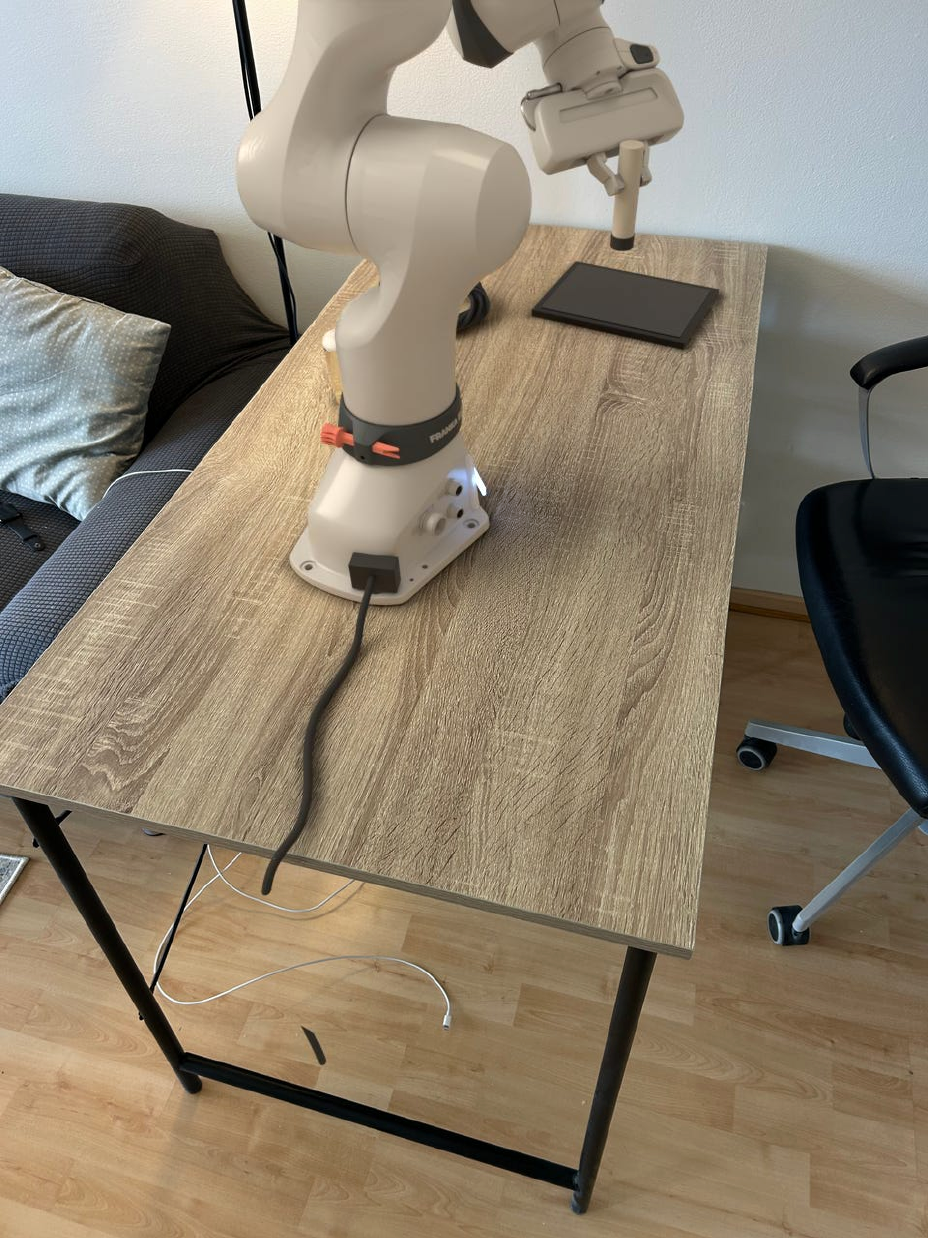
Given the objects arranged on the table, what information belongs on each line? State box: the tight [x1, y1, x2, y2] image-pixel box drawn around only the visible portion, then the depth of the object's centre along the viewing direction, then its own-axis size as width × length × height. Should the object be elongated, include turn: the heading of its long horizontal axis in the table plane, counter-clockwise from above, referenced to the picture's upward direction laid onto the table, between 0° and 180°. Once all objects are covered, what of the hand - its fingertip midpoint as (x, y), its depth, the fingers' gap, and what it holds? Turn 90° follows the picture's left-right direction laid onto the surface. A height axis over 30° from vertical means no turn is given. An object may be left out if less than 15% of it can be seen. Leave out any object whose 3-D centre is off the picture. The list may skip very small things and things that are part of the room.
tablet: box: [531, 260, 720, 350], centre depth 126 cm, size 16×22×1 cm
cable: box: [378, 280, 491, 332], centre depth 125 cm, size 17×14×4 cm
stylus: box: [609, 140, 644, 252], centre depth 109 cm, size 3×3×12 cm
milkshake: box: [321, 328, 343, 405], centre depth 109 cm, size 5×5×10 cm
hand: (631, 188), depth 108 cm, fingers closed on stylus, 3 cm apart
